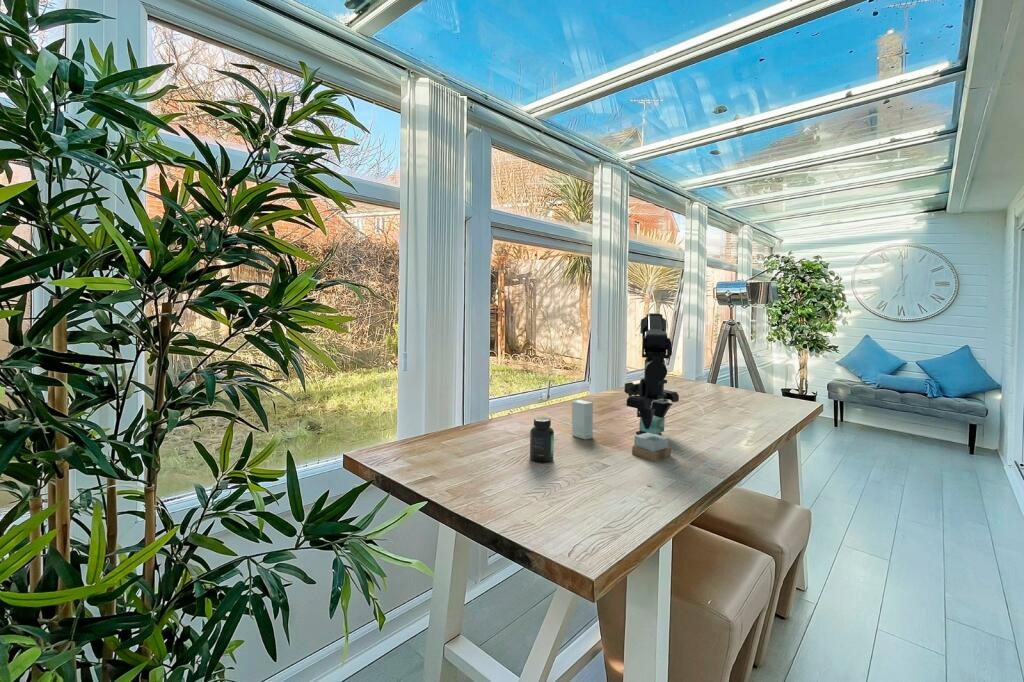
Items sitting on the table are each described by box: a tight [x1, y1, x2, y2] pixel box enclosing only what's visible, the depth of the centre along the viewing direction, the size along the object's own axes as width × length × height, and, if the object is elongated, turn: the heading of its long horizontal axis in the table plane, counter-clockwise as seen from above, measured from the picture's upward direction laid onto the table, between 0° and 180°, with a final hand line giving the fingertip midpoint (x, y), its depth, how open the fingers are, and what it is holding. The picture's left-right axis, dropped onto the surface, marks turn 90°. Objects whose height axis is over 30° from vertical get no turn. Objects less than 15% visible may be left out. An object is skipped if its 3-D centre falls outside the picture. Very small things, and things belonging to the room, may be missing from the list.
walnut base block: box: [631, 445, 672, 463], centre depth 138 cm, size 8×8×3 cm
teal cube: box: [639, 416, 666, 434], centre depth 137 cm, size 5×5×4 cm
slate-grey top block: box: [633, 432, 670, 452], centre depth 138 cm, size 7×7×3 cm
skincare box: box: [571, 399, 594, 440], centre depth 155 cm, size 6×4×12 cm
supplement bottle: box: [529, 416, 555, 464], centre depth 132 cm, size 7×7×12 cm
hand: (651, 427), depth 137 cm, fingers closed on teal cube, 5 cm apart
